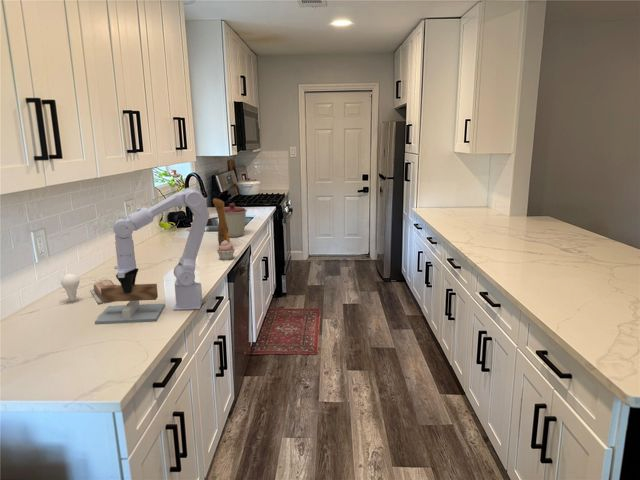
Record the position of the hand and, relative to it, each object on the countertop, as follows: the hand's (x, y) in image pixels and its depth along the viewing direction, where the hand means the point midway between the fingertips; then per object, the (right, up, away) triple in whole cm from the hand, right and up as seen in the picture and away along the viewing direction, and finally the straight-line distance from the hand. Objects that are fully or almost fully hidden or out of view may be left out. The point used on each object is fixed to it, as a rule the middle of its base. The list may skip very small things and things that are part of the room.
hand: (129, 291), depth 154 cm
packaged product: (-18, -5, +21) cm, 28 cm away
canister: (+12, +21, +125) cm, 127 cm away
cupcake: (+19, +8, +73) cm, 76 cm away
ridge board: (0, -9, +2) cm, 9 cm away
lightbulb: (-28, -6, +14) cm, 32 cm away
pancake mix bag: (+12, +14, +97) cm, 98 cm away
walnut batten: (0, -3, +1) cm, 3 cm away
